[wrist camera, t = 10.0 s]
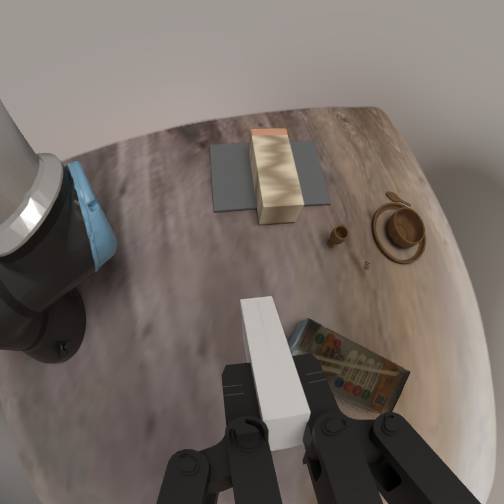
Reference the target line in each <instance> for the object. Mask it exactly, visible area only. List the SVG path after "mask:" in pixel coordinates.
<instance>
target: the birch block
mask: <svg viewBox="0 0 504 504" xmlns="http://www.w3.org/2000/svg"><path fill="white" fill-rule="evenodd" d="M249 157H250V164H251V170H252V177H253V184H254V191H255V198H256V205H257V212H258V219H259V225H260V224H273V223H286V222H296V220H297V218H298V216H299V214H300V212H301V210H302V208H303V206H304V201H303V197H302V192H301V188H300V183H299V179H298V175H297V171H296V167H295V162H294V158H293V154H292V150H291V146H290V143H289V139H288V135H287V131H286V129H251V133H250V142H249Z"/></svg>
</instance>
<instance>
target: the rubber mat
mask: <svg viewBox="0 0 504 504" xmlns="http://www.w3.org/2000/svg"><path fill="white" fill-rule="evenodd" d="M289 143H290V146H291V150H292V154H293V158H294V162H295V167H296V171H297V175H298V179H299V183H300V188H301V192H302V197H303V201H304V206H319V205H330V204H331V202H330V198H329V194H328V191H327V187H326V183H325V180H324V176H323V172H322V169H321V166H320V162H319V159H318V155H317V152H316V149H315V146H314V142H302V141H291V142H289ZM210 156H211V173H212V189H213V203H214V213H216V212H228V211H240V210H253V209H257V205H256V198H255V191H254V184H253V177H252V170H251V164H250V157H249V143H232V144H218V145H210Z"/></svg>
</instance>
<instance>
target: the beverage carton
mask: <svg viewBox="0 0 504 504" xmlns="http://www.w3.org/2000/svg"><path fill="white" fill-rule="evenodd" d="M288 346H289V349H290V352H291V355H292V356H295V355H301V354H307V353H311V354H312V355H313V356H314V357H316V358H317V359H318V360H319V362H320V364H321V367H322V369H323V372H324V374H325V376H326V380H327V381H328V383H329V386H330V388H331V391H332V393H333V395H335V396H337V397H339V398H341V399H343V400H345V401H348V402H350V403H352V404H354V405H357V406H359V407H361V408H364V409H366V410H369V411H372V412H375V413H378V414H383V413H386V412H392V411H393V409H394V407H395V405H396V403H397V401H398V399H399V397H400V395H401V393H402V390H403V387H404V385H405V383H406V381H407V379H408V376H409V374H410V371H407V370H405V369H404V368H403V367H401V366H399V365H397V364H395V363H393V362H391V361H389V360H387V359H386V358H384V357H382V356H380V355H378V354H376V353H374V352H372V351H370V350H368V349H366V348H364V347H363V346H361V345H359V344H357V343H355V342H353V341H351V340H349V339H347V338H345V337H343V336H341V335H339V334H338V333H336V332H334V331H332V330H330V329H328V328H325V327H323V326H322V325H321V324H319V323H317V322H315V321H313V320H311V319H309V318H308V319H306V320H302V321H300V323H298V324H297V326H296V328H295V330H294V332H293V334H292V336H291V338H290V339H289V341H288Z"/></svg>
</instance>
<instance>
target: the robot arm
mask: <svg viewBox="0 0 504 504" xmlns="http://www.w3.org/2000/svg"><path fill="white" fill-rule="evenodd" d="M117 246H118V243H117V239H116V236H115V234H114V232H113V230H112V228H111V226H110V224H109V222H108V220H107V218H106V216H105V214H104V212H103V210H102V208H101V206H100V204H99V202H98V200H97V198H96V196H95V193H94V191H93V189H92V187H91V185H90V183H89V180H88V178H87V176H86V174H85V172H84V169H83V167H82V165H81V163H80V162H79V161H74V162H72V163H68V164H67V165H66V167H64V166H63V164H62V163H61V161H60V160H59V159H58V158H57V157H56V156H55V155H53V154H49V153H41V154H36V153H35V152H34V151H33V149H32V148H31V146H30V145H29V143H28V142H27V141H26V139H25V138H24V136H23V135H22V133H21V132H20V130H19V129H18V127H17V126H16V124H15V122H14V121H13V120H12V118H11V117H10V115H9V113H8V112H7V110H6V108H5V107H4V105H3V103H2V102H1V100H0V349H2V350H13V351H22V352H24V353H26V354H27V355H29V356H31V357H32V358H34V359H36V360H38V361H40V362H43V363H61V362H64V361H66V360H68V359H69V358H71V357H72V356H73V355H74V354H75V353H76V351H77V350H78V348H79V346H80V344H81V342H82V340H83V336H84V332H85V324H86V317H85V309H84V305H83V301H82V299H81V296H80V294H79V293H78V291H77V289H76V288H75V287H76V286H77V285H78V284H80V283H81V282H82V281H84V280H85V279H86V278H88V277H89V276H90V275H92V274H93V273H95V272H97V271H98V270H99V267H101V266H102V265H103V264H104V263H105V262H107V261H108V260H109V259H110V258H111V257H112V256H113V255H114V254H115V253H116V251H117ZM240 301H241V315H242V329H243V342H244V348H245V353H246V359H247V363H242V364H232V365H226V366H225V369H224V371H223V373H222V385H223V395H224V406H225V416H226V426H227V427H226V431H225V436H224V438H223V439H222V441H220V442H219V443H218V444H216V445H214V446H212V447H210V448H207V449H204V450H201V451H195V450H193V449H184V450H181V451H178V452H176V453H175V454H174V455H173V456H172V457H171V459H170V460H169V462H168V466H167V469H166V472H165V476H164V479H163V483H162V486H161V490H160V493H159V496H158V500H157V503H156V504H217V500H218V495H219V492H221V491H224V490H226V489H229V488H232V487H233V491H234V499H235V504H282V500H281V495H280V491H279V487H278V482H277V478H276V473H275V469H274V464H273V460H272V455H271V451H274V450H280V449H286V448H291V447H296V446H301V445H302V443H303V442H304V445H305V449H306V452H305V455H304V458H303V464H306V463H307V466H308V470H309V473H310V477H311V480H312V484H313V487H314V491H315V494H316V498H317V501H318V504H383V502H382V499H381V497H380V494H381V495H382V496H383V497H384V499H385V500H386V501H387V503H388V504H481V503H480V502H479V501H478V500H477V499H476V498H475V496H474V495H473V494H472V493H471V492H470V491H469V490H468V489H467V488H466V486H465V485H464V484H463V483H462V482H461V481H460V480H459V479H458V477H457V476H456V475H455V474H454V473H453V472H452V471H451V470H450V469H449V467H448V466H447V465H446V464H445V463H444V462H443V461H442V460H441V459H440V457H439V456H438V455H437V454H436V453H435V452H434V451H433V450H432V449H431V447H430V446H429V445H428V444H427V443H426V442H425V441H424V440H423V439H422V437H421V436H420V435H419V434H418V433H417V432H416V431H415V430H414V429H413V427H412V426H411V425H410V424H409V423H408V422H407V421H406V420H405V419H404V418H403V417H402V416H401V415H399V414H397V413H394V412H386V413H383V414H381V415H380V416H378V417H377V418H376V420H357V419H352V418H349V417H347V416H346V415H344V414H343V413H342V412H341V411H340V409H339V407H338V405H337V403H336V400H335V398H334V395H333V393H332V391H331V388H330V386H329V383H328V381H327V380H326V376H325V374H324V372H323V369H322V367H321V364H320V362H319V360H318V359H317V358H316V357H314V356H313V355H312V354H311V353H307V354H301V355H295V356H292V355H291V352H290V349H289V346H288V343H287V340H286V337H285V334H284V331H283V328H282V325H281V322H280V319H279V316H278V313H277V311H276V308H275V305H274V302H273V299H272V296H269V297H260V298H250V299H241V300H240ZM378 491H379V492H380V494H379V492H378Z"/></svg>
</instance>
